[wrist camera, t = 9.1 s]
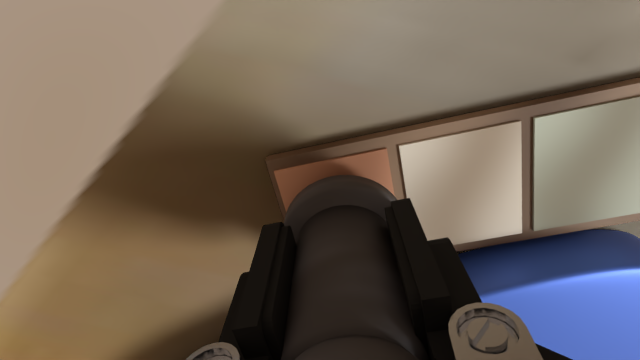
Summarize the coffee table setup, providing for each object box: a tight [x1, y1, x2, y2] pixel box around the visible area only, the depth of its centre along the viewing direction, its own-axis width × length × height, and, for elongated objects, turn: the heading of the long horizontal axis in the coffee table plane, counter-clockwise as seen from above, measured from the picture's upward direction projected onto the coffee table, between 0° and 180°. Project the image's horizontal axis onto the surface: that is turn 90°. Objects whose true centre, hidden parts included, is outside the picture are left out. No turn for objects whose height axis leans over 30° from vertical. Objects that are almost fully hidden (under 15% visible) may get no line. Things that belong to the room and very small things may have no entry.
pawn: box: [281, 175, 429, 360], centre depth 9 cm, size 4×4×8 cm
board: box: [265, 77, 640, 252], centre depth 13 cm, size 17×5×1 cm, turn 103°
